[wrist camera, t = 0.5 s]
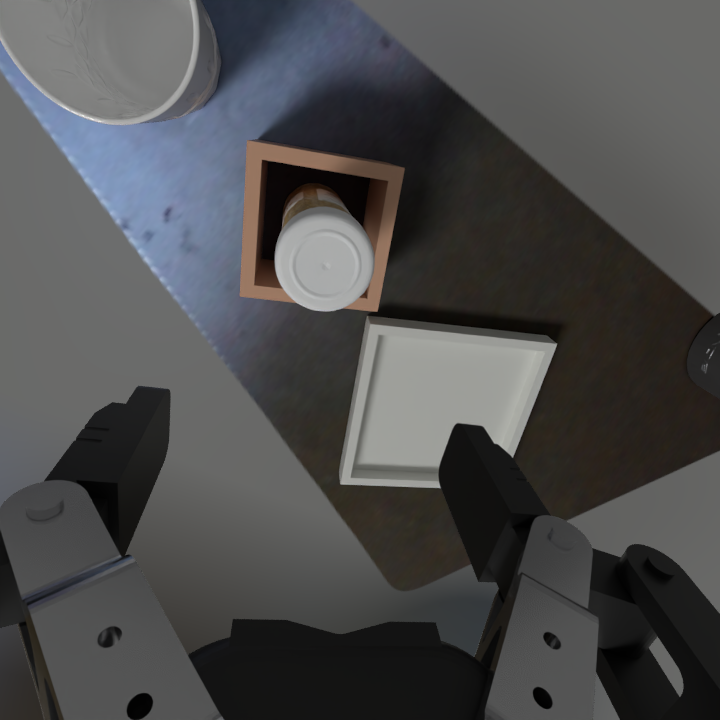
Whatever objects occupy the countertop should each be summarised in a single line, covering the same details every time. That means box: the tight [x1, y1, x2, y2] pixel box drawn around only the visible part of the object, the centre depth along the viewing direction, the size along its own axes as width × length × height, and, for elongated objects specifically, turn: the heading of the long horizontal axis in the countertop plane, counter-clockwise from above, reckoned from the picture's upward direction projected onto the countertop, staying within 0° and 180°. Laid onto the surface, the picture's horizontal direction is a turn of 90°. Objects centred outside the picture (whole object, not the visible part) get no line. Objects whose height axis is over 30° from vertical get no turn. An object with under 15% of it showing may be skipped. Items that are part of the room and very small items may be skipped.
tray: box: [339, 316, 557, 488], centre depth 40 cm, size 16×16×2 cm
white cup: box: [0, 0, 221, 125], centre depth 22 cm, size 8×8×10 cm
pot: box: [240, 139, 405, 312], centre depth 29 cm, size 9×9×6 cm
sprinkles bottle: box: [275, 183, 375, 311], centre depth 26 cm, size 5×4×14 cm
